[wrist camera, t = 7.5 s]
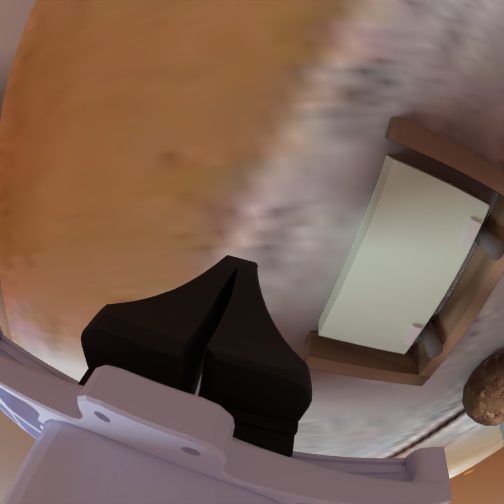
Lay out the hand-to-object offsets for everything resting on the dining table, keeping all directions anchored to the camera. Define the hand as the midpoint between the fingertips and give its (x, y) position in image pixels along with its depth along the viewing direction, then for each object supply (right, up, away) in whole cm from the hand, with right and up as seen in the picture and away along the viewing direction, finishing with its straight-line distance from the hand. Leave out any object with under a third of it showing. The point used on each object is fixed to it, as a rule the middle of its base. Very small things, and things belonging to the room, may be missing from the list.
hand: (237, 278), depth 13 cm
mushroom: (+24, -11, +8) cm, 28 cm away
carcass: (+11, 0, +4) cm, 12 cm away
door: (+10, +1, +5) cm, 11 cm away
